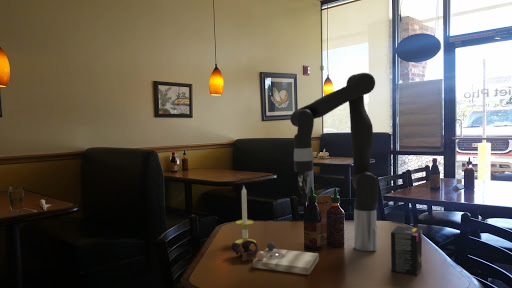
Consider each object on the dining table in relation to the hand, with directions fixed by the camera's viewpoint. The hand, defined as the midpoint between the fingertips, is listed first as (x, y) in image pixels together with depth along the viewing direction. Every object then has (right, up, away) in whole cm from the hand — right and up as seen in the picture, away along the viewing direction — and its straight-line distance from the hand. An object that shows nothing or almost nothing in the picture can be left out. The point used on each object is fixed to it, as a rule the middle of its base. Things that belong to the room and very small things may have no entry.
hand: (304, 201), depth 158 cm
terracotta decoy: (-18, -20, -7) cm, 28 cm away
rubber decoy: (-14, -19, +4) cm, 24 cm away
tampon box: (+36, -23, -13) cm, 45 cm away
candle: (-25, -23, +23) cm, 41 cm away
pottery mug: (-24, -24, +3) cm, 34 cm away
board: (-8, -24, -5) cm, 25 cm away
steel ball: (-12, -22, -3) cm, 25 cm away
